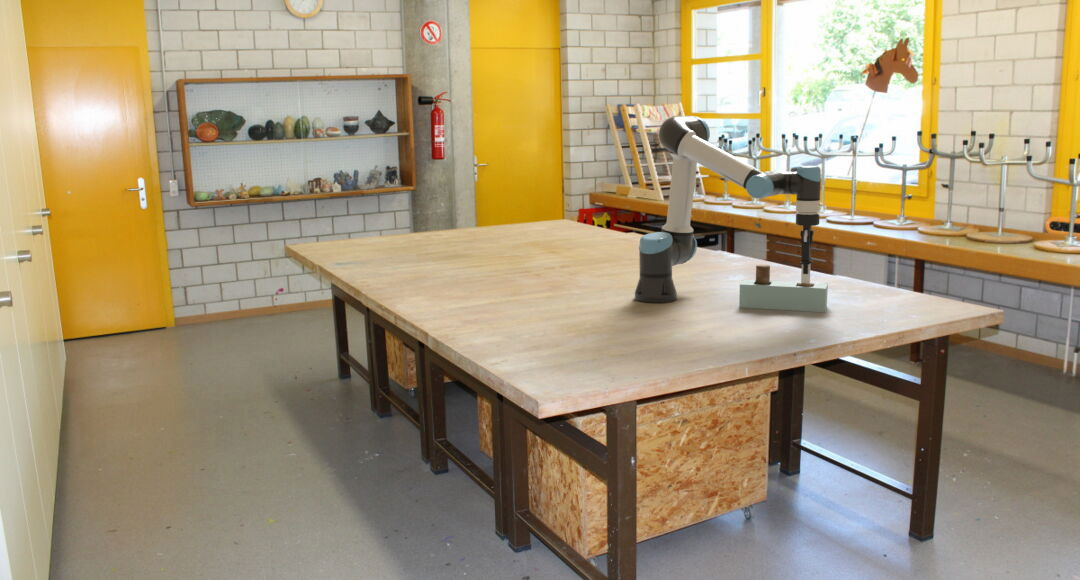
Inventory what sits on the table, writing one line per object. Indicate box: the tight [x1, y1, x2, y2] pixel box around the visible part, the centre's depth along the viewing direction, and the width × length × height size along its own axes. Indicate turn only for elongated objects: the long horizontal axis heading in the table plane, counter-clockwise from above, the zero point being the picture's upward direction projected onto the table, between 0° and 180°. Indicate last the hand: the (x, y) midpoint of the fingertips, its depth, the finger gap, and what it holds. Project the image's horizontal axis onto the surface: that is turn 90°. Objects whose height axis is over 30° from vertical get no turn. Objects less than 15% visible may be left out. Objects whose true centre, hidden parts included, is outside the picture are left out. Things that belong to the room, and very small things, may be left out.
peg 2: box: [798, 282, 813, 287], centre depth 301 cm, size 5×5×8 cm
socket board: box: [738, 279, 829, 313], centre depth 304 cm, size 28×9×8 cm, turn 69°
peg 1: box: [755, 264, 771, 285], centre depth 305 cm, size 5×5×8 cm
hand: (805, 282), depth 300 cm, fingers closed
